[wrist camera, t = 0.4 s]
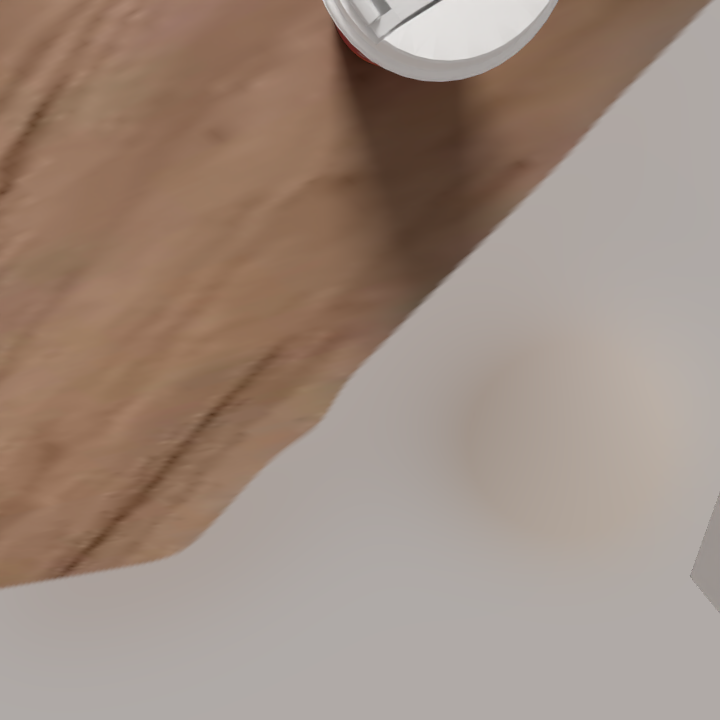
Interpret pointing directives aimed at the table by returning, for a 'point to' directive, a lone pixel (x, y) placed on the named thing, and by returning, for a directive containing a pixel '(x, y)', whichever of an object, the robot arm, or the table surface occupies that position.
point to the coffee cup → (438, 33)
